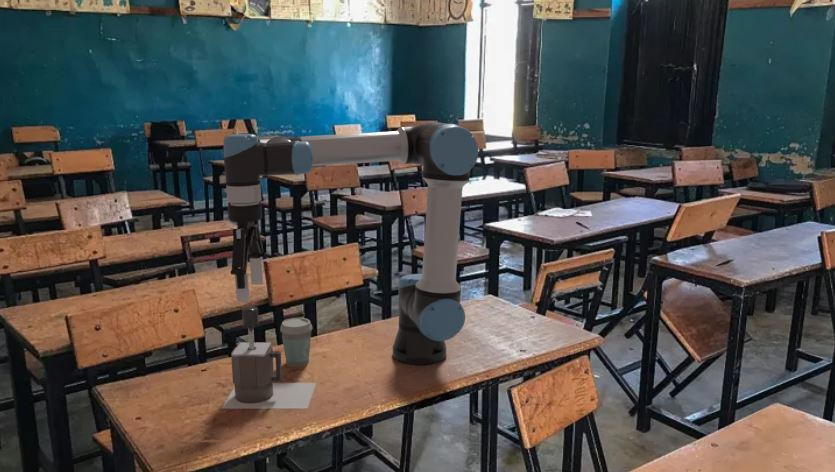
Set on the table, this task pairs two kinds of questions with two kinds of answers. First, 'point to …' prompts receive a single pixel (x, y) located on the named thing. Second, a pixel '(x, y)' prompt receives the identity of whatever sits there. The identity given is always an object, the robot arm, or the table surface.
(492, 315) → the table surface
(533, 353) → the table surface
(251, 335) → the plunger
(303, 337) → the coffee cup
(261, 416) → the table surface
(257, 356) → the grey french press
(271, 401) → the mat
